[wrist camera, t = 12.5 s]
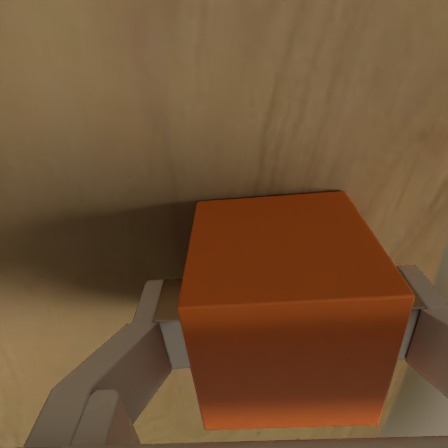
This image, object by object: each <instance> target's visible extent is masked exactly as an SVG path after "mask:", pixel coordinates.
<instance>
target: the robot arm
mask: <svg viewBox="0 0 448 448" xmlns="http://www.w3.org/2000/svg"><path fill="white" fill-rule="evenodd" d="M396 268H397V269H398V271H399V272H400V274H401V275H402V277H403V278H404V280H405V281H406V283H407V284H408V286H409V287H410V289H411V290H412V292H413V293H414V295H415V300H414V303H413V307H412V310H411V313H410V317H409V320H408V324H407V327H406V331H405V334H404V338H403V341H402V345H401V348H400V352H399V355H398V359H397V360H402V359H406V360H405V361H406V362H407V363H408V364H409V365H410V366H411V367H413V368H414V369H415V370H416V371H417V372H418V373H419V374H421V375H422V376H423V377H424V378H425V379H426V380H427V381H429V382H430V383H431V384H432V385H433V386H434V387H435V388H437V389H438V390H439V391H440V392H441V393H442V394H443V395H444V396H446V397H447V398H448V304H447V303H446V302H445V301H444V299H443V298H442V297H441V295H440V294H439V293H438V292H437V290H436V289H435V288H434V286H433V285H432V284H431V283H430V281H429V280H428V279H427V278H426V276H425V275H424V274H423V272H422V271H421V270H420V269H419V267H417V266H415V265H405V266H396ZM182 280H183V279H165V280H148V281H147V282H146V283H145V286H144V289H143V292H142V295H141V298H140V301H139V304H138V307H137V310H136V313H135V316H134V319H133V322H132V324H126V325H125V326H124V327H123V328H121V329H120V330H119V331H118V332H117V333H116V334H115V335H113V336H112V337H111V338H110V339H109V340H108V341H107V342H105V343H104V344H103V345H102V346H101V347H100V348H99V349H97V350H96V351H95V352H94V353H93V354H92V355H91V356H89V357H88V358H87V359H86V360H85V361H84V362H82V363H81V364H80V365H79V366H78V367H77V368H76V369H74V370H73V371H72V372H71V373H70V374H69V375H68V376H66V377H65V378H64V379H63V380H62V381H61V382H60V383H58V384H57V385H56V386H55V387H54V388H53V389H52V390H51V392H50V394H49V396H48V398H47V400H46V402H45V404H44V406H43V408H42V410H41V412H40V414H39V416H38V418H37V420H36V422H35V424H34V426H33V428H32V430H31V432H30V434H29V436H28V438H27V440H26V442H25V444H24V446H23V447H17V448H448V436H422V437H386V438H348V439H312V440H276V441H241V442H204V443H167V444H141V443H140V441H139V438H138V436H137V434H136V431H135V429H134V427H133V423H134V422H135V421H136V419H137V418H138V416H139V415H140V414H141V412H142V411H143V410H144V408H145V407H146V405H147V404H148V403H149V401H150V400H151V399H152V397H153V396H154V394H155V393H156V392H157V390H158V389H159V388H160V386H161V385H162V383H163V382H164V381H165V379H166V378H167V377H168V375H169V374H170V372H171V369H179V368H190V363H189V359H188V354H187V350H186V346H185V341H184V337H183V332H182V328H181V324H180V319H179V315H178V310H177V306H178V301H179V296H180V290H181V285H182Z"/></svg>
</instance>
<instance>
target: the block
mask: <svg viewBox="0 0 448 448" xmlns="http://www.w3.org/2000/svg"><path fill="white" fill-rule="evenodd" d="M414 300H415V295H414V293H413V292H412V290H411V289H410V287H409V286H408V284H407V283H406V281H405V280H404V278H403V277H402V275H401V274H400V272H399V271H398V269H397V268H396V266H395V265H394V264H393V262H392V261H391V259H390V258H389V256H388V255H387V253H386V252H385V250H384V249H383V247H382V246H381V244H380V243H379V241H378V240H377V238H376V237H375V236H374V234H373V233H372V231H371V230H370V228H369V227H368V225H367V224H366V222H365V221H364V219H363V218H362V216H361V215H360V213H359V212H358V210H357V209H356V208H355V206H354V205H353V203H352V202H351V200H350V199H349V197H348V196H347V194H346V193H345V192H344V191H337V192H323V193H309V194H295V195H281V196H268V197H254V198H240V199H226V200H212V201H199V202H197V205H196V210H195V215H194V221H193V226H192V231H191V237H190V242H189V247H188V253H187V258H186V263H185V269H184V274H183V280H182V285H181V290H180V296H179V301H178V306H177V310H178V315H179V319H180V324H181V328H182V332H183V337H184V341H185V346H186V350H187V354H188V359H189V363H190V368H191V372H192V376H193V381H194V385H195V390H196V394H197V398H198V403H199V407H200V412H201V416H202V420H203V425H204V429H205V430H223V429H257V428H291V427H325V426H359V425H378V424H379V421H380V417H381V414H382V410H383V407H384V404H385V400H386V397H387V393H388V390H389V386H390V383H391V379H392V376H393V372H394V369H395V365H396V362H397V359H398V355H399V352H400V348H401V345H402V341H403V338H404V334H405V331H406V327H407V324H408V320H409V317H410V313H411V310H412V307H413V303H414Z"/></svg>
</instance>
